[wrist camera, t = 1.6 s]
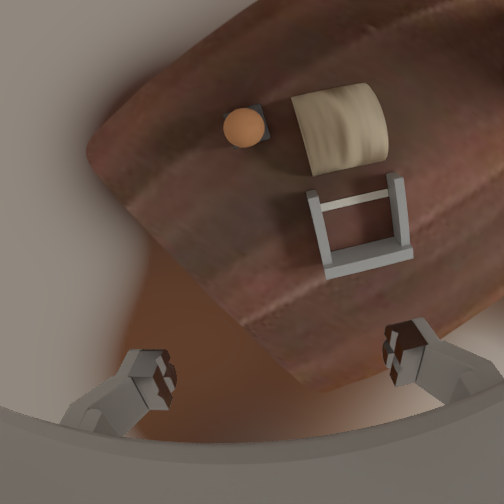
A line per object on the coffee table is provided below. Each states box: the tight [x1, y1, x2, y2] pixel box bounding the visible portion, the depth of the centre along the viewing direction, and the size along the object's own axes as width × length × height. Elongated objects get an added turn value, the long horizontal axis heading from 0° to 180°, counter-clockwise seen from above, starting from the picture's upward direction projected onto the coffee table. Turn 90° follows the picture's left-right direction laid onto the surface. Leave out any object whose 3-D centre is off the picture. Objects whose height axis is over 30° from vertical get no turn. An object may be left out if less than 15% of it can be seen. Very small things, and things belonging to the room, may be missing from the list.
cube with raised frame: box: [223, 104, 271, 149], centre depth 31 cm, size 4×4×4 cm
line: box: [320, 189, 389, 212], centre depth 36 cm, size 9×1×1 cm, turn 107°
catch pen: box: [306, 172, 413, 280], centre depth 35 cm, size 12×10×4 cm
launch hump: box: [291, 83, 388, 176], centre depth 33 cm, size 9×10×10 cm
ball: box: [223, 108, 265, 148], centre depth 28 cm, size 4×4×4 cm
